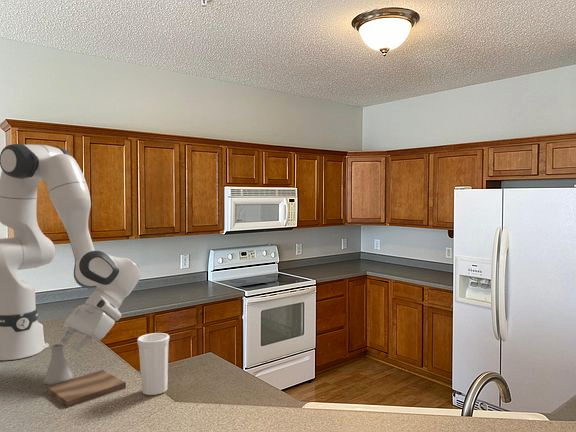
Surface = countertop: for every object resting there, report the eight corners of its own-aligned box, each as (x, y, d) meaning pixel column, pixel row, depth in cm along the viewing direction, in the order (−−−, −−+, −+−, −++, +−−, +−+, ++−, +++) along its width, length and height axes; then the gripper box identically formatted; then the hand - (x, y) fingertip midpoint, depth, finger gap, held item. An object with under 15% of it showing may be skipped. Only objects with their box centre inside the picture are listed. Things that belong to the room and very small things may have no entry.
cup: (138, 388, 118) (136, 335, 118) (169, 383, 121) (167, 331, 121) (139, 400, 111) (137, 343, 110) (172, 394, 114) (171, 339, 113)
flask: (60, 386, 120) (59, 350, 120) (37, 385, 122) (36, 349, 121) (78, 376, 127) (77, 342, 127) (56, 375, 129) (55, 341, 128)
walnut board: (46, 391, 117) (46, 386, 117) (102, 374, 128) (102, 369, 128) (67, 407, 107) (67, 401, 107) (125, 387, 118) (125, 382, 118)
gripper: (79, 296, 139) (46, 334, 132) (108, 304, 125) (74, 347, 118) (93, 307, 142) (62, 345, 135) (124, 317, 128) (91, 359, 121)
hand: (68, 346), depth 127 cm, fingers open, 8 cm apart
